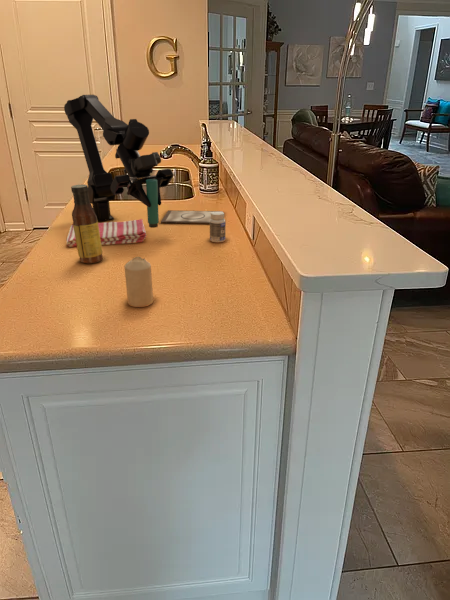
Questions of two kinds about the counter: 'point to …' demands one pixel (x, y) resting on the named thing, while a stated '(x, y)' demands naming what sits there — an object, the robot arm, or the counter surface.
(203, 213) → the gray flat panel
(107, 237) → the dish towel
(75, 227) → the sauce bottle
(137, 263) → the candle
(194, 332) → the counter surface
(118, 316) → the counter surface
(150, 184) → the dot marker
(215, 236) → the pill bottle
